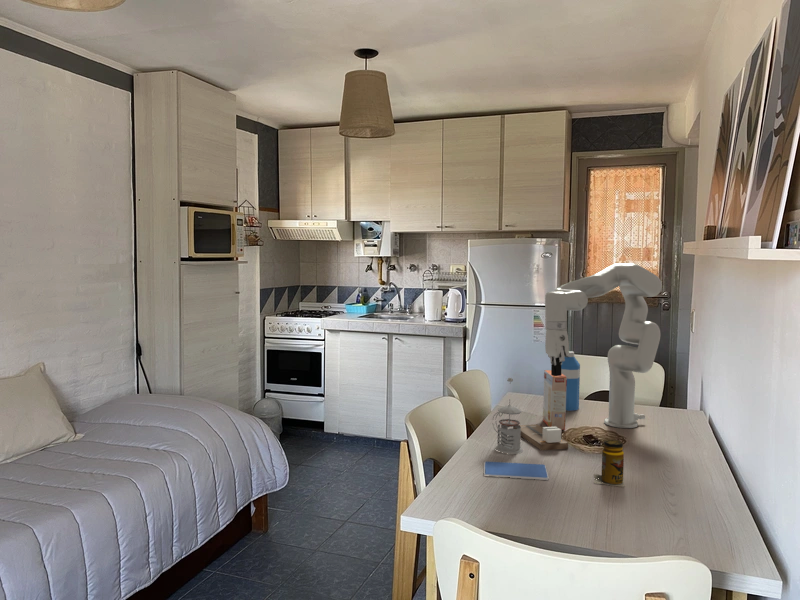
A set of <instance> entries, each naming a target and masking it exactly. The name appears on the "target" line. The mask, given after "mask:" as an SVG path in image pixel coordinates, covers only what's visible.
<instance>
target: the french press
mask: <svg viewBox="0 0 800 600" xmlns="http://www.w3.org/2000/svg"><path fill="white" fill-rule="evenodd" d="M513 381H514V380H513V378H512V377H508V378H507V382H509V383H512V382H513ZM497 411H498V412H496V413H494V414H493V416H492V419H494V417H495V418H497V416H499V417H502V416H503V415H508V418H505V419H503V418H502V419H500V420H498V423H499V424H497V422H495V426H496V428H497V430H496V428H495V426H494V424H492V427H493V430H494V431H495V432H496V434H497V445H496V446H495V447H494V450H495V449H496V450H498V451H500V452H503V453H502V454H504V453H508V454H507V455H518V454H517V453H519V454H521V453H523V452H524V448H522V447H521V435H520V433H521V426H520V425H521V422H520V421H519V420H518V419H511V415H513V416H514V415H519V414H522V410H521V409H520V408H519V407H517V406H515V405H511V400H509V404H507V405H503V406H500V407H499V408H497ZM500 414H501V415H500ZM510 427H512V428H510ZM513 427H516V428H517V429H514V428H513ZM496 450H495V451H496Z"/></svg>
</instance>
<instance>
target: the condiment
mask: <svg viewBox="0 0 800 600" xmlns="http://www.w3.org/2000/svg"><path fill="white" fill-rule="evenodd" d="M623 446H624V444H623V442H622V441H621V440H617V439H606V440H604V441H603V448H602V451H601V474H597V473H594V474H593V484H598V485H607V486H611V487H612V486H613V487H614V486H615V487H619V488H620V487H621V488H623V487H626V484H625V478H624V464H625V463H624V462H625V459H624V457H625V453H624V451H623V450H624V448H623ZM594 478H595V479H594ZM598 478H599V479H598ZM596 479H597V480H596ZM602 482H603V483H602Z"/></svg>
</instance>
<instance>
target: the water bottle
mask: <svg viewBox="0 0 800 600" xmlns="http://www.w3.org/2000/svg"><path fill="white" fill-rule="evenodd" d="M561 373H562V374H563V375H565V376H566V377H567V387H566V411H569V412H570V411H571V412H573V411H577V410H579V409H580V386H581V385H580V382H581V381H580V380H581V379H580V377H581V375H580V374H581V364H580V363H579V361H578V360H577V358H576V357H575V352H574V351H572V350H571V351H570V350H569V356H568V357H565V361H564V362H562V365H561Z"/></svg>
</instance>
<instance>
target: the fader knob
mask: <svg viewBox="0 0 800 600" xmlns="http://www.w3.org/2000/svg"><path fill="white" fill-rule="evenodd" d="M542 427H543V438H542V439H543V440H544V441H546V442H547V443H552V442H561V439H562V430H561V429H559V428H558V427H548V426H542Z"/></svg>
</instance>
